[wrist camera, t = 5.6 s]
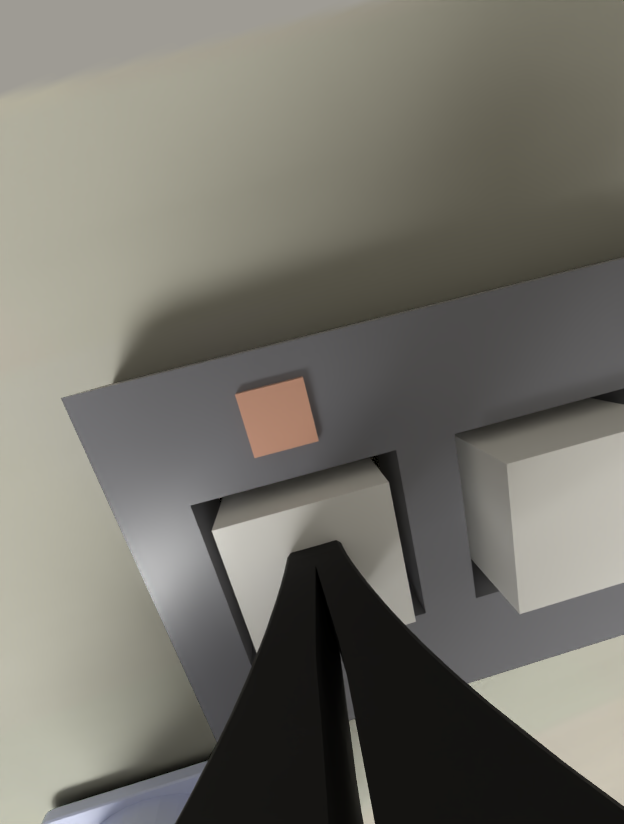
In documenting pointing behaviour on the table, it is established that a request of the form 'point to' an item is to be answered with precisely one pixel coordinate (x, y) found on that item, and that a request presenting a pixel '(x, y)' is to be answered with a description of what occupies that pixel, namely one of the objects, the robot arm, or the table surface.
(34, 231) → the table surface
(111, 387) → the keypad frame
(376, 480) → the key inner
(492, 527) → the key middle
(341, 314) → the table surface
